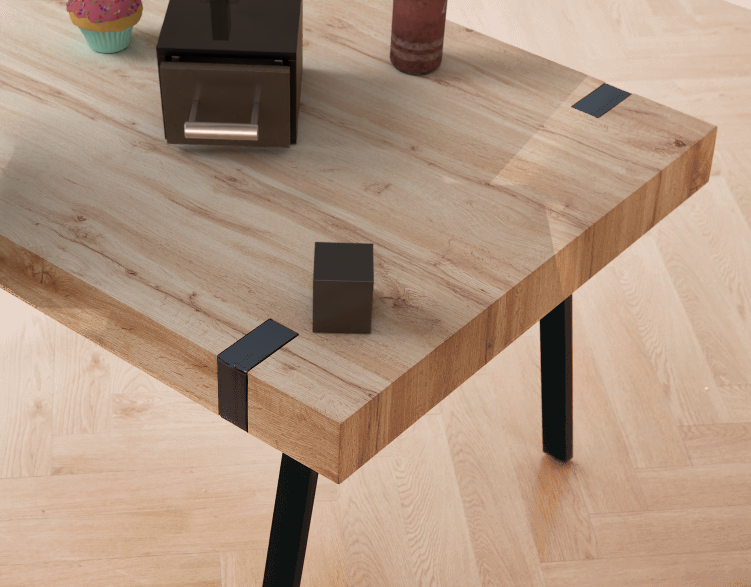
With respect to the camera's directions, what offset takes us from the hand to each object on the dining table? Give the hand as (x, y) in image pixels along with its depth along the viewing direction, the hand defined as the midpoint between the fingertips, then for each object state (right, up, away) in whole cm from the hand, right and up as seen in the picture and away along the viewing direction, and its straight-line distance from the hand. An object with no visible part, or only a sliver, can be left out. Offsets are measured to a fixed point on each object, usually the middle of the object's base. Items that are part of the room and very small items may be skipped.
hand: (221, 33), depth 100 cm
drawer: (-1, -6, +14) cm, 15 cm away
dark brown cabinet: (-1, -3, +19) cm, 19 cm away
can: (+19, +3, +27) cm, 33 cm away
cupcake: (-17, +5, +27) cm, 32 cm away
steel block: (+11, -26, -6) cm, 29 cm away
